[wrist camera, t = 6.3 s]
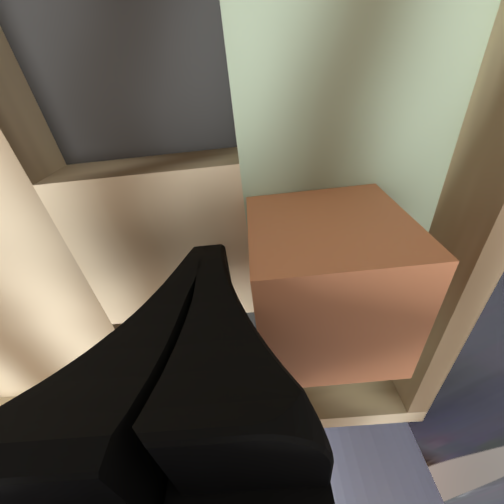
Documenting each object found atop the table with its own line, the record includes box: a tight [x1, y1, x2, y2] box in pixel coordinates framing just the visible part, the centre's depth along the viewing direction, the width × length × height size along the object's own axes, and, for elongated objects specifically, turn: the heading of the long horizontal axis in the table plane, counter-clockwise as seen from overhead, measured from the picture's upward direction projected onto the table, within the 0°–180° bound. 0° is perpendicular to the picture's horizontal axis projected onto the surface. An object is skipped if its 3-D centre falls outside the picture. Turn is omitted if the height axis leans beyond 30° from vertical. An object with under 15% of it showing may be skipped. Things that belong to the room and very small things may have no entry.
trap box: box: [0, 0, 504, 428], centre depth 11 cm, size 25×20×5 cm
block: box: [246, 184, 459, 388], centre depth 9 cm, size 4×4×4 cm
